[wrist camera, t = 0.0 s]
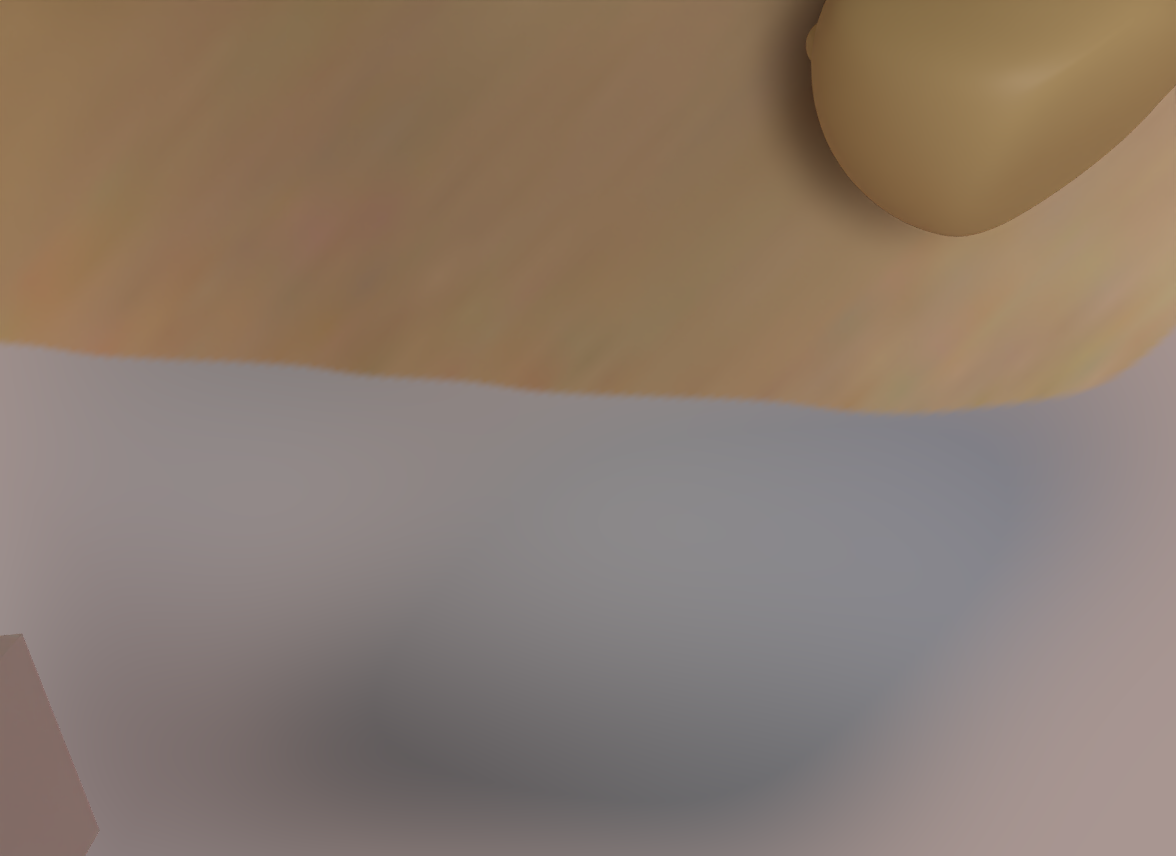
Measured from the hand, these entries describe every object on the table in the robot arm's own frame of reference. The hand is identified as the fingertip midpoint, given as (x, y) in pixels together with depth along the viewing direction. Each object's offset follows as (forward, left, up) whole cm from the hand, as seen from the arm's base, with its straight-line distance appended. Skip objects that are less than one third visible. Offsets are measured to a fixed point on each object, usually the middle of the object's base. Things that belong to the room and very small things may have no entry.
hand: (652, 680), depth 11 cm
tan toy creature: (-4, +13, -28) cm, 31 cm away
